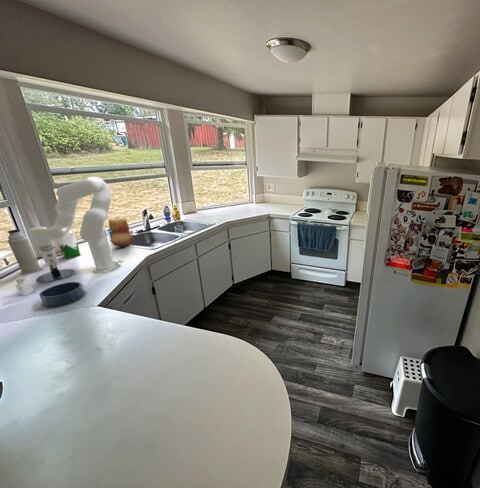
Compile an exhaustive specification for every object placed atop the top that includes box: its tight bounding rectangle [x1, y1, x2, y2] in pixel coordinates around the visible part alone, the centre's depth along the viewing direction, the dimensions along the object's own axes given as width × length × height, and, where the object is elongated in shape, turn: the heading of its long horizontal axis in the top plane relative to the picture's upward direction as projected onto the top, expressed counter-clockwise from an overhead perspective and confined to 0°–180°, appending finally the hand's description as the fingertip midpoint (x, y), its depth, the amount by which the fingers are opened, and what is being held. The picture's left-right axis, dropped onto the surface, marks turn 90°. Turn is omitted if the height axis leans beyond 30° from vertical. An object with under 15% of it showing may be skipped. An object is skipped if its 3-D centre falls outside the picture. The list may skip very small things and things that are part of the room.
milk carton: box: [56, 230, 81, 259], centre depth 182 cm, size 9×9×20 cm
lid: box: [36, 268, 76, 283], centre depth 154 cm, size 17×17×7 cm
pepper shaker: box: [14, 276, 34, 296], centre depth 136 cm, size 4×4×10 cm
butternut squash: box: [108, 215, 134, 248], centre depth 200 cm, size 14×13×25 cm
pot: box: [38, 281, 86, 308], centre depth 132 cm, size 16×16×6 cm
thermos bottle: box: [7, 228, 41, 275], centre depth 156 cm, size 8×8×28 cm
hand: (56, 274), depth 155 cm, fingers closed on lid, 3 cm apart
